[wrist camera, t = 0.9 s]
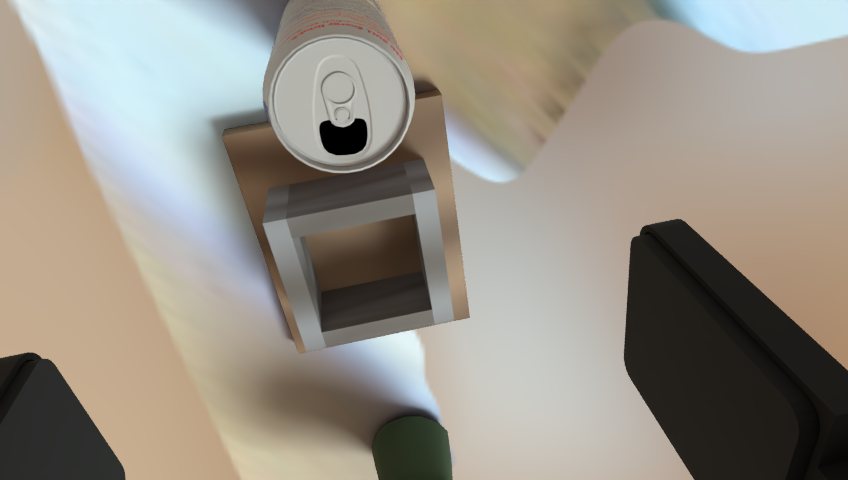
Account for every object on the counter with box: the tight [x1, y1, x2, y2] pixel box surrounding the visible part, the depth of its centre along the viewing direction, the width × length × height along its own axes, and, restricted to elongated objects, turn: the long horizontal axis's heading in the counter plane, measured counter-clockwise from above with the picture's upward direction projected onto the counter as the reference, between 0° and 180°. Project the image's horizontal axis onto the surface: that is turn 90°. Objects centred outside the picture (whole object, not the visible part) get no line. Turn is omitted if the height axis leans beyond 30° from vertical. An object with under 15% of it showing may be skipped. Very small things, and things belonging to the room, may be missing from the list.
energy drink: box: [263, 0, 415, 173], centre depth 25 cm, size 5×5×12 cm
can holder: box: [222, 90, 470, 353], centre depth 34 cm, size 16×12×5 cm
